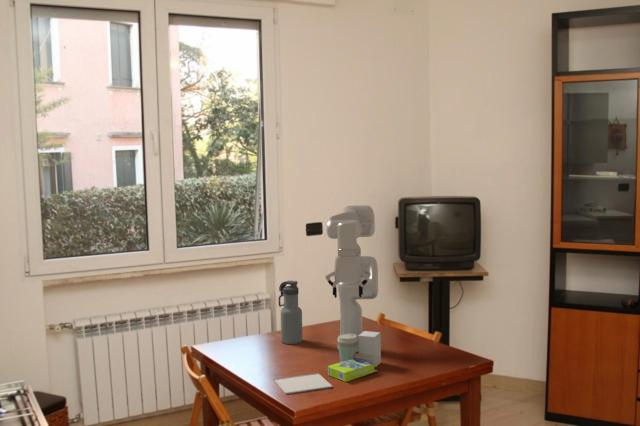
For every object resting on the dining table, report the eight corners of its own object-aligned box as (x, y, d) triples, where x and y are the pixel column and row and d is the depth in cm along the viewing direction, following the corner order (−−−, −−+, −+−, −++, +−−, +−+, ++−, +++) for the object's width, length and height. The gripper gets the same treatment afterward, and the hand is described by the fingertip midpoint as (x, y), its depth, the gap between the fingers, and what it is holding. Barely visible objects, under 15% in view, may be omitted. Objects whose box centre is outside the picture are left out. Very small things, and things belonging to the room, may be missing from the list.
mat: (318, 374, 254) (318, 373, 254) (333, 387, 239) (333, 386, 239) (273, 380, 248) (273, 379, 248) (286, 394, 233) (286, 393, 233)
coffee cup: (352, 369, 259) (351, 340, 258) (333, 366, 264) (333, 337, 263) (362, 363, 266) (361, 334, 265) (344, 360, 271) (343, 332, 270)
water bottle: (276, 342, 298) (274, 282, 296) (288, 337, 306) (287, 278, 304) (294, 345, 293) (293, 284, 290) (306, 340, 301) (305, 280, 299)
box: (327, 365, 252) (360, 355, 263) (327, 375, 253) (360, 365, 264) (345, 372, 244) (378, 361, 255) (345, 383, 245) (378, 372, 256)
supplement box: (381, 362, 267) (381, 332, 266) (375, 367, 261) (374, 337, 260) (364, 360, 271) (364, 330, 269) (358, 365, 264) (357, 335, 263)
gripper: (368, 251, 259) (368, 294, 260) (324, 252, 259) (325, 295, 260) (370, 254, 252) (370, 298, 253) (325, 255, 251) (326, 299, 252)
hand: (347, 296), depth 256 cm, fingers open, 9 cm apart
